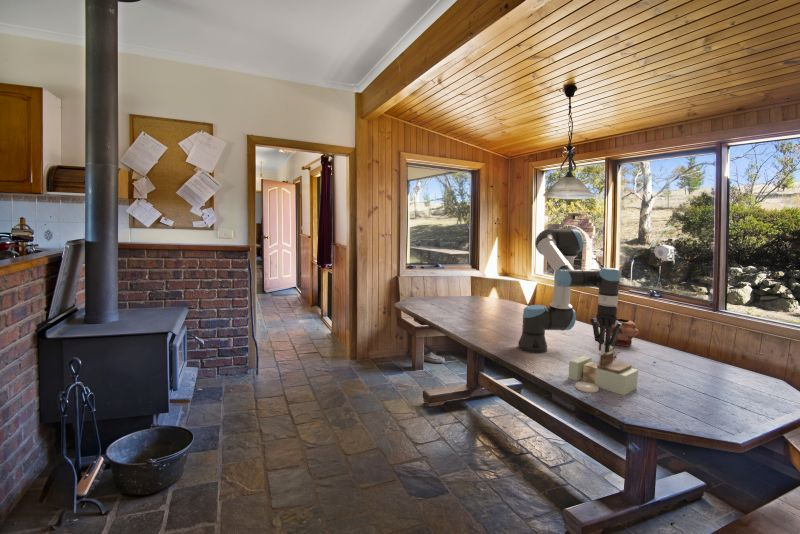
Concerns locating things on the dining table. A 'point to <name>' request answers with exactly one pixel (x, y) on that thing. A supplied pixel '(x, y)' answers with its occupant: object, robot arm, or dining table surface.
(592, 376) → the maple block
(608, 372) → the pale green split block
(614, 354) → the game die
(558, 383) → the dining table surface
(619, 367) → the walnut cover
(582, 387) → the cream coaster
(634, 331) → the decorative planter
